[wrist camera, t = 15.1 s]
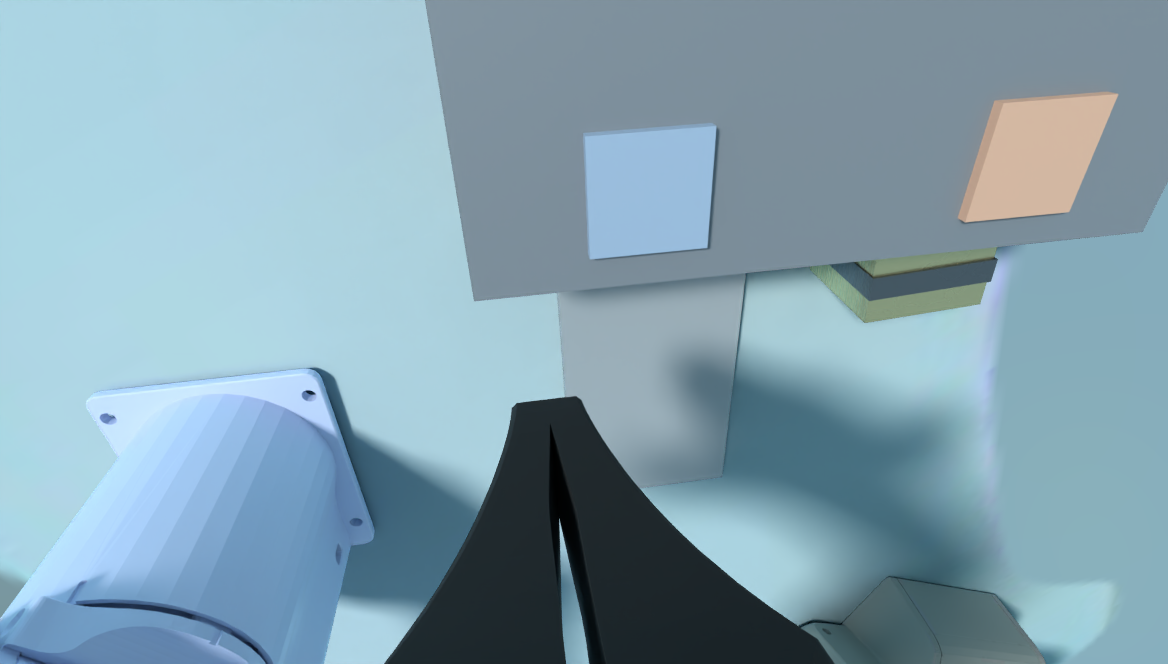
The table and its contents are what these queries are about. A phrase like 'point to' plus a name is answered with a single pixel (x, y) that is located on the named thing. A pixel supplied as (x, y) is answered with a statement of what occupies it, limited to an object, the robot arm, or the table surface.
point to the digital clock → (927, 628)
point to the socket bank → (790, 131)
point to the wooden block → (910, 283)
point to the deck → (656, 371)
